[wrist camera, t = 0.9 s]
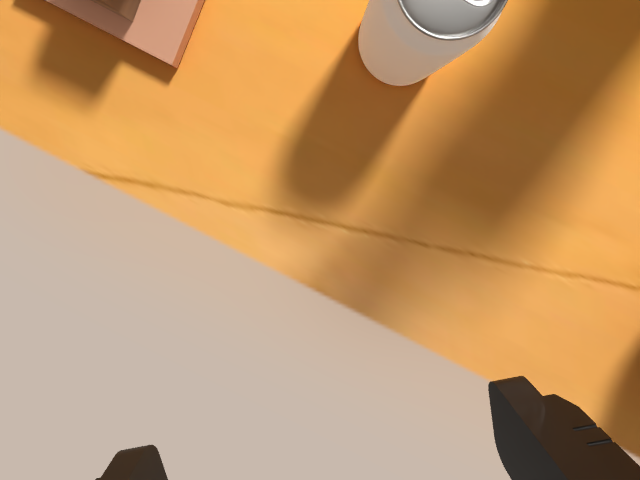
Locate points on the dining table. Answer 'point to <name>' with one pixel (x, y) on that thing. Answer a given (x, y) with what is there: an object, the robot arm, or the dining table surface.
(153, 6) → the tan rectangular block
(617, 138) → the dining table surface
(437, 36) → the can
